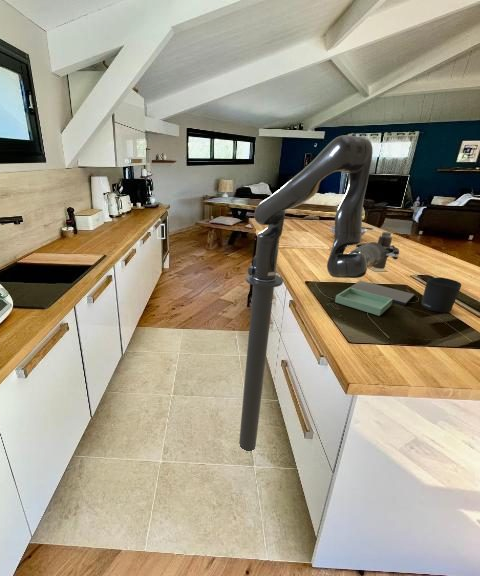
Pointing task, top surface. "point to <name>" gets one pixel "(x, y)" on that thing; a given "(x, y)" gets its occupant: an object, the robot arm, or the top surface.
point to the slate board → (384, 292)
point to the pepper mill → (384, 241)
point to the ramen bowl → (361, 234)
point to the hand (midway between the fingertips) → (385, 246)
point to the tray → (364, 301)
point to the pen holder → (440, 294)
